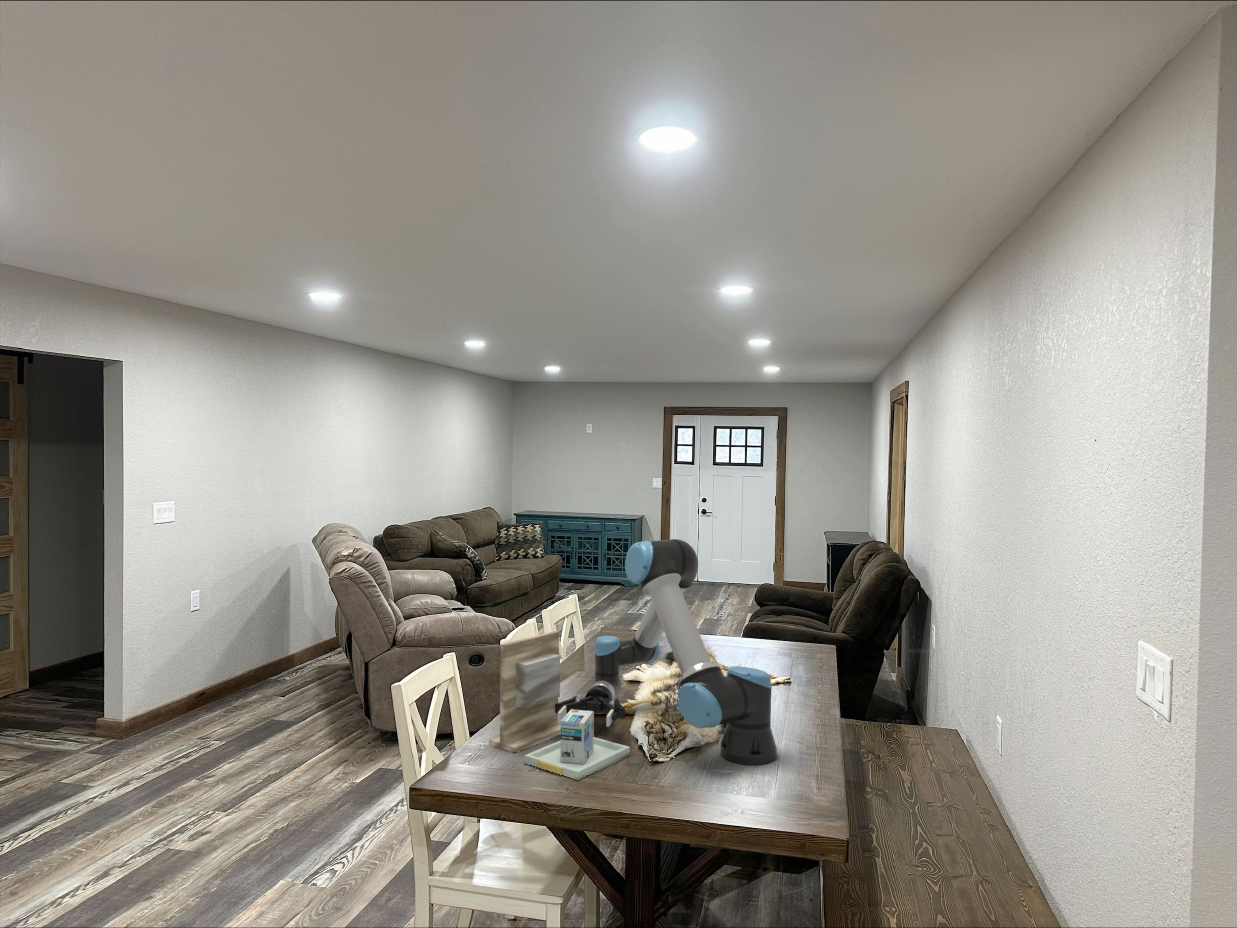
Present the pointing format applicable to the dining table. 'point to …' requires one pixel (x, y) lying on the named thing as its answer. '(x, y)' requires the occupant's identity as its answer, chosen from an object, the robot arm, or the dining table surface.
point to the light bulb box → (577, 736)
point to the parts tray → (598, 760)
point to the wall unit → (528, 692)
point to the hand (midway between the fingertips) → (583, 719)
